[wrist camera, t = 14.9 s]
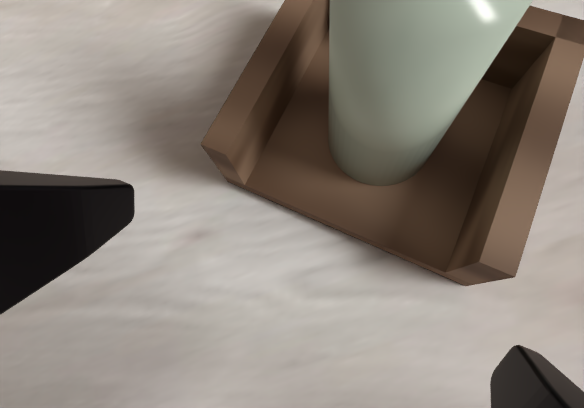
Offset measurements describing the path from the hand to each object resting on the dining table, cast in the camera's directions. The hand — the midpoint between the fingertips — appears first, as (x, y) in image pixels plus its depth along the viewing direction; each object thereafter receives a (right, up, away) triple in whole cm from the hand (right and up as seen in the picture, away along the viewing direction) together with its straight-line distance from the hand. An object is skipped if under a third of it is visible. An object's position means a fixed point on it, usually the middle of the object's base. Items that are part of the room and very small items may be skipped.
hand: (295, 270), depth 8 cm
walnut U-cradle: (+4, +5, +10) cm, 12 cm away
